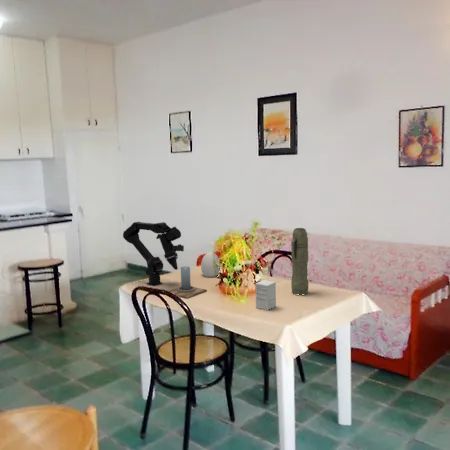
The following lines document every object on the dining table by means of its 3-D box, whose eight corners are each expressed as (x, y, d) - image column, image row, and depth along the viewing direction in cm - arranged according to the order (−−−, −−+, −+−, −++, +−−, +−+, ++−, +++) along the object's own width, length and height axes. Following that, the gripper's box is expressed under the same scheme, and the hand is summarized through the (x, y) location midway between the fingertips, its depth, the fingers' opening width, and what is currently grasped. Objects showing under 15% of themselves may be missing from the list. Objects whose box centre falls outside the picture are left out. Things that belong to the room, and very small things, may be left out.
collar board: (165, 293, 267) (165, 289, 267) (185, 287, 280) (185, 282, 279) (187, 298, 257) (187, 294, 257) (206, 291, 270) (206, 287, 269)
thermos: (286, 294, 261) (286, 229, 256) (298, 289, 270) (298, 226, 264) (300, 297, 255) (300, 231, 250) (312, 292, 264) (312, 227, 259)
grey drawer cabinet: (264, 304, 245) (263, 279, 244) (276, 306, 241) (276, 281, 239) (255, 308, 240) (254, 283, 238) (267, 310, 235) (267, 285, 233)
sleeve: (180, 290, 270) (179, 267, 268) (189, 288, 272) (188, 266, 270) (183, 292, 265) (182, 269, 263) (191, 291, 267) (191, 268, 265)
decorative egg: (221, 277, 298) (220, 253, 296) (201, 278, 298) (200, 254, 295) (221, 272, 310) (220, 249, 308) (201, 273, 310) (200, 250, 307)
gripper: (179, 237, 269) (189, 264, 268) (180, 239, 288) (190, 264, 287) (160, 244, 269) (170, 271, 267) (163, 246, 287) (172, 271, 286)
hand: (176, 269), depth 277 cm, fingers open, 9 cm apart
